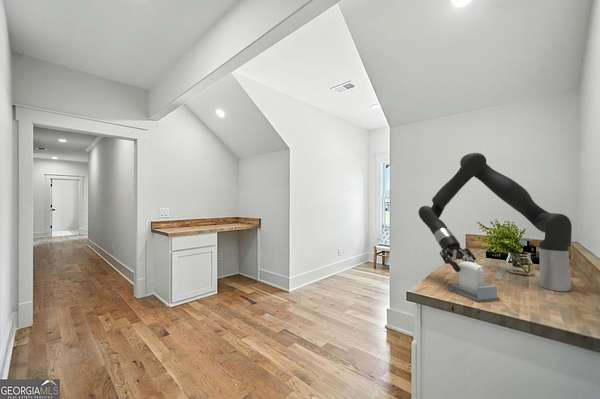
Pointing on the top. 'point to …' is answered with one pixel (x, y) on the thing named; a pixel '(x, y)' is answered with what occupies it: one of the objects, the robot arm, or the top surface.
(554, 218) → the robot arm
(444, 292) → the top surface
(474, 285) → the photo printer
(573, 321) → the top surface
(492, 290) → the charging dock
